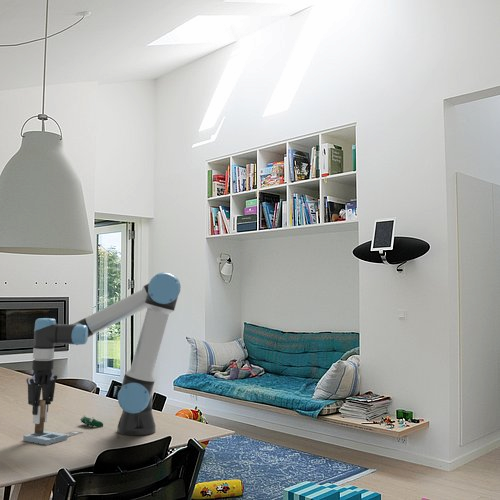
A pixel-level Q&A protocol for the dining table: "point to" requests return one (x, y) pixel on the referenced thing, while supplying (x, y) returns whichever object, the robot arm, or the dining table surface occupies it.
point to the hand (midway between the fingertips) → (39, 422)
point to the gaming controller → (91, 422)
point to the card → (72, 433)
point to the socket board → (45, 437)
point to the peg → (41, 418)
